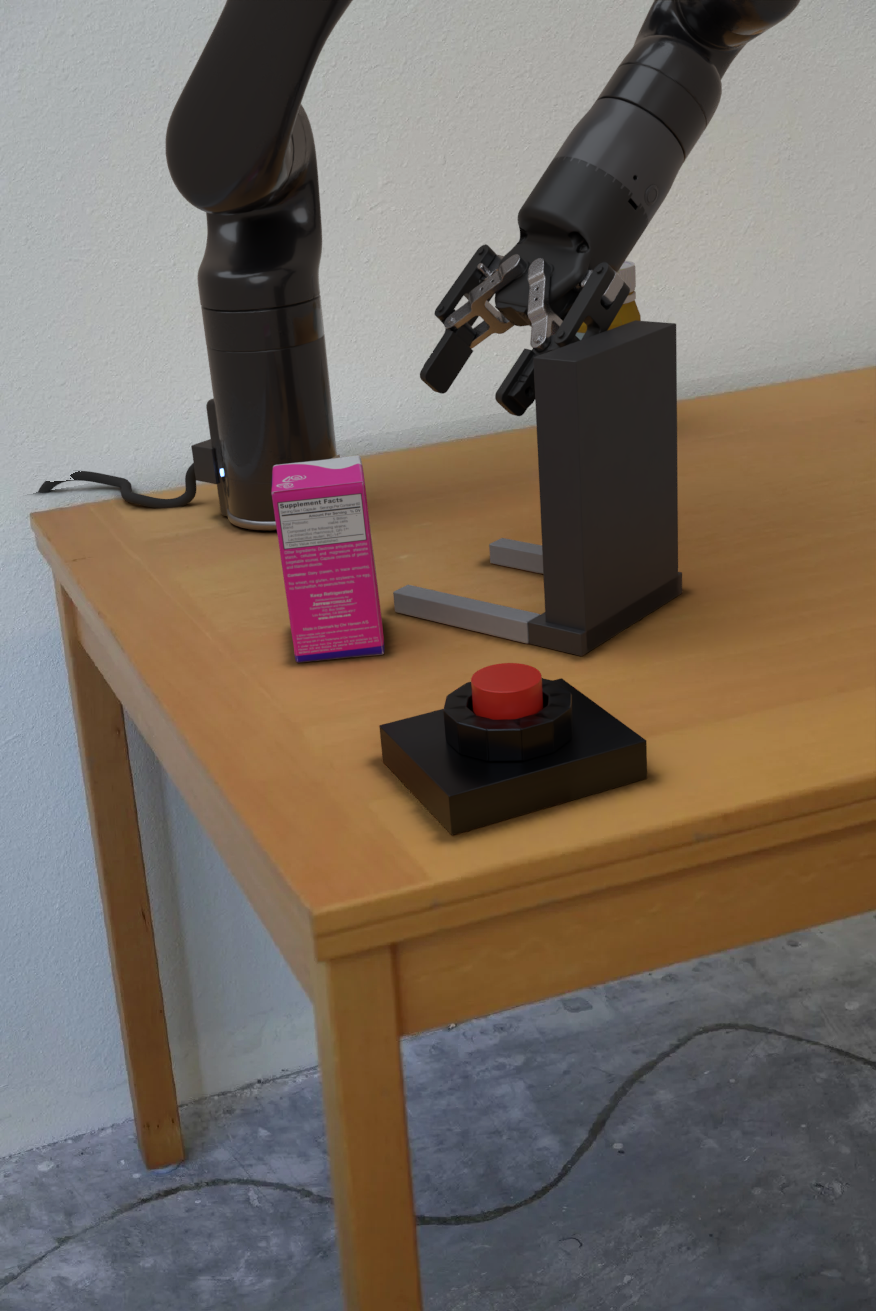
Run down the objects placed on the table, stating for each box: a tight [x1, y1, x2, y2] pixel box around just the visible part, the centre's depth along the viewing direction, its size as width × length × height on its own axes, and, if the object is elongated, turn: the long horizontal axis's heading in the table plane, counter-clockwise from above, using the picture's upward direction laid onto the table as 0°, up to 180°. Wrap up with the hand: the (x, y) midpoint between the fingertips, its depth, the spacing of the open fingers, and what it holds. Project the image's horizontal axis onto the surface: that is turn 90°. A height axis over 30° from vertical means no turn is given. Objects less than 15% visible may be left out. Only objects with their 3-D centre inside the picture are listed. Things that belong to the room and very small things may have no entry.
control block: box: [379, 677, 648, 836], centre depth 76 cm, size 11×9×4 cm
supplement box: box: [272, 455, 385, 663], centre depth 92 cm, size 6×6×12 cm
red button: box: [470, 662, 543, 720], centre depth 75 cm, size 4×4×2 cm
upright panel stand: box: [392, 320, 683, 657], centre depth 95 cm, size 15×12×18 cm
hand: (467, 397), depth 95 cm, fingers open, 8 cm apart
